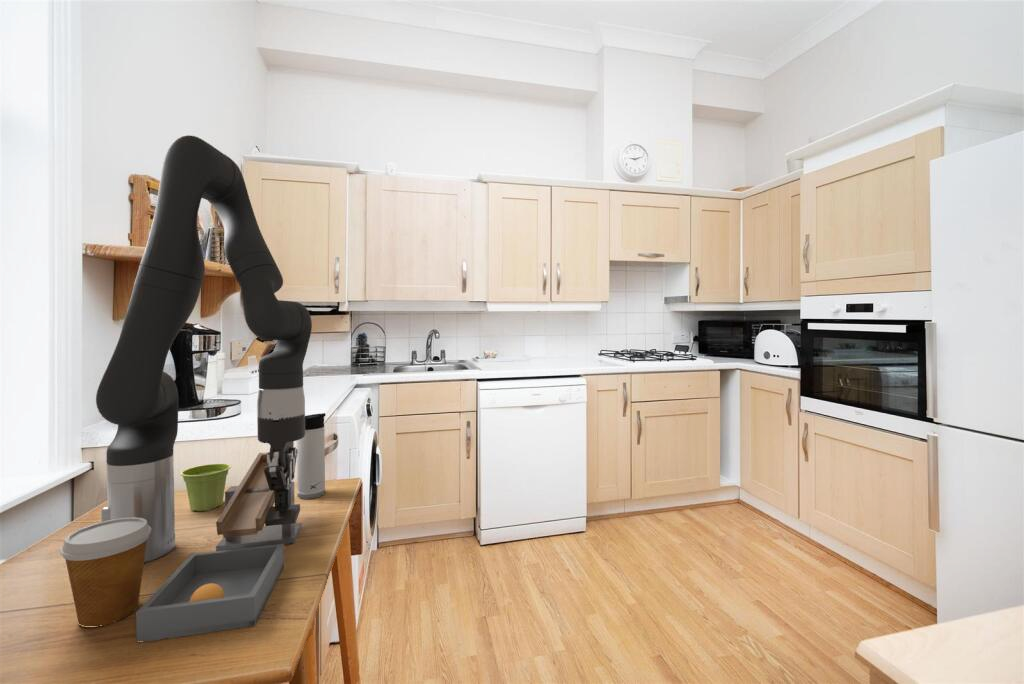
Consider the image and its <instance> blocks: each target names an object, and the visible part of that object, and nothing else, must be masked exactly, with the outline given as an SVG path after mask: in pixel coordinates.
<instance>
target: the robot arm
mask: <svg viewBox="0 0 1024 684" xmlns="http://www.w3.org/2000/svg"><path fill="white" fill-rule="evenodd" d="M242 173H243V172H242V171H241V169H240V167H239V166H238V164H237V163H236V162H235V161H234V160H233V159H232V158H230V156H228V155H227V154H225V153H223V152H222V151H220V150H219V149H218V148H216V147H215V146H213V145H212V144H210V143H208V142H207V141H206V140H204V139H202V138H200V137H198V136H196V135H183V136H180V137H179V138H177V139H175V141H173V142H172V143H171V144H170V146H169V147H168V148H167V151H166V154H165V156H164V159H163V164H162V168H161V173H160V180H159V184H158V192H157V198H156V203H155V204H156V205H155V209H154V213H153V217H152V221H151V222H152V223H151V226H150V229H149V234H148V238H147V242H146V246H145V248H144V252H143V255H142V257H141V260H140V263H139V266H138V269H137V273H136V277H135V280H134V283H133V287H132V292H131V296H130V300H129V303H128V306H127V310H126V313H125V316H124V320H123V324H122V327H121V330H120V335H119V339H118V341H117V344H116V346H115V348H114V350H113V353H112V356H111V358H110V360H109V362H108V365H107V367H106V369H105V371H104V373H103V375H102V378H101V380H100V382H99V385H98V388H97V390H96V395H95V396H96V397H95V404H96V408H97V410H98V412H99V414H100V416H101V417H102V418H103V419H104V420H105V421H107V422H109V423H111V424H114V425H117V431H116V433H115V436H114V438H113V439H112V440H111V443H110V444H109V445H108V447H107V449H106V489H107V490H106V491H107V493H106V494H107V495H106V496H107V503H106V504H107V505H106V506H104V507H103V508H102V509H101V511H100V520H101V521H100V522H104V521H108V520H113V519H120V518H132V517H136V518H143V519H146V521H147V523H148V526H149V527H151V533H150V534H149V537H148V539H147V544H146V551H145V559H144V563H147V562H150V561H153V560H156V559H159V558H160V557H163V556H165V555H167V554H169V553H170V552H171V551H172V550H173V549H174V548H175V545H176V529H175V528H176V526H175V523H176V522H175V519H176V518H175V469H174V468H175V466H174V461H175V460H174V445H175V442H176V441H177V440H176V439H177V436H178V430H179V429H178V428H179V390H178V386H177V384H176V381H175V380H174V379H173V377H172V376H171V375H170V374H168V373H167V372H166V371H164V369H165V364H166V361H167V358H168V355H169V354H168V353H169V352H170V349H171V346H172V345H173V342H174V341H175V339H176V338H177V336H178V334H179V333H180V332H181V331H182V329H183V328H184V326H185V324H186V323H187V321H188V320H189V318H190V317H191V315H192V312H193V311H194V309H195V306H196V304H197V302H198V299H199V296H200V293H201V289H202V286H203V281H204V279H205V278H204V277H205V270H206V269H205V268H206V266H205V258H204V253H203V249H202V245H201V240H200V237H199V232H198V231H199V230H198V215H199V210H200V206H201V202H202V199H203V200H206V201H208V203H209V205H210V206H212V208H213V210H215V212H216V214H217V215H218V217H219V219H220V220H221V222H222V226H223V229H224V230H223V231H224V235H223V249H224V255H225V257H226V261H227V263H228V265H229V268H230V269H231V272H232V274H233V275H234V278H235V280H236V282H237V284H238V285H239V289H240V294H241V302H242V308H243V315H244V319H245V322H246V325H247V327H248V329H249V330H250V331H251V333H253V334H254V335H255V336H256V337H257V338H259V339H260V340H264V341H276V342H275V345H274V346H275V347H274V349H273V351H272V352H271V353H268V354H266V355H264V356H262V357H261V358H260V359H259V361H258V394H257V400H256V401H257V403H256V404H257V405H256V408H257V409H256V411H257V412H256V414H257V415H256V416H257V417H256V418H257V419H256V420H257V440H258V442H260V443H262V444H268V445H269V446H270V447H269V451H268V453H267V452H266V453H267V462H268V464H269V467H265V469H264V473H265V476H266V479H267V482H268V486H269V489H270V491H275V503H274V506H275V511H286V510H288V508H289V507H290V486H291V484H292V482H293V480H294V478H295V472H296V466H297V453H298V451H297V446H296V447H294V445H295V443H294V442H297V440H300V439H302V438H303V437H304V436H305V416H306V398H305V391H304V361H305V358H306V355H307V351H308V347H309V343H310V339H311V334H312V329H313V328H312V327H313V323H312V321H313V320H312V318H311V314H310V312H309V310H308V308H307V307H306V306H305V305H304V304H302V303H300V302H298V301H289V300H281V299H280V300H279V299H278V298H277V297H276V294H275V293H277V292H278V291H279V290H280V289H282V287H283V284H284V278H283V274H282V273H281V271H280V268H279V267H278V265H277V263H276V261H275V258H274V257H273V255H272V252H271V250H270V249H269V247H268V244H267V242H266V241H265V239H264V236H263V234H262V232H261V229H260V226H259V224H258V221H257V219H256V216H255V212H254V209H253V206H252V203H251V199H250V196H249V192H248V188H247V185H246V182H245V179H244V176H243V174H242Z"/></svg>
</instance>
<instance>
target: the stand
mask: <svg viewBox="0 0 1024 684" xmlns="http://www.w3.org/2000/svg"><path fill="white" fill-rule="evenodd" d="M238 486H239V485H233V486H230V487H229V488H227V489H226V490H224V508H225V507H226V506H227V504H228V502H229V501H230V499H231V498H232V496H233V494H234V493H235V491H236V489H237V488H238ZM290 505H295V481H292V484H291V486H290ZM302 527H303V523H302V522H298V523H297V522H296V523H294V524H283V525H273V526H265V525H264V527H263V529H262V531H258V533H257V534H254V535H244V536H235V537H225V538H223V537H222V539H221V540H220V541H219V542H218V543H217V544H216V545H215V551H221V550H231V549H240V548H249V547H259V546H268V545H277V544H284V545H291V544H290V543H293V544H295V542H296V540H297V538H298V536H299V534H300V532H301V530H302Z"/></svg>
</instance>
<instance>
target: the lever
mask: <svg viewBox="0 0 1024 684" xmlns="http://www.w3.org/2000/svg"><path fill="white" fill-rule="evenodd" d="M268 452H269V451H268ZM268 452H259V453H258V454H257V456H256V458H254V461H253V462H252V464H251V466H249V469H248V470H247V472H246V474H245V475H244V477H243V479H242V480H241V482H240V483H239V485H237V486H238V488H237V489H236V491H235V493H234V494H233V496H232V498H231V499H230V501H229V502H228V504H227V506H226V507H225V506H224V509H223V510H222V511H221V512H222V513H221V514H220V515H219V517H218V518H217V520H216V521H215V524H216V531H217V532H216V533H217V536H220V535H222V539H223V538H225V537H235V536H244V535H254V534H257V533H258V531H262V529H263V527H264V526H274V525H283V524H294V523H297V520H298V518H299V515H300V511H301V504H300V503H297V504H295V503H294V505H290V507H289V508H288V510H286V511H275V491H270V489H269V486H268V482H267V479H266V476H265V473H264V469H265V467H269V464H268V462H267V453H268Z"/></svg>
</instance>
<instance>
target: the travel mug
mask: <svg viewBox="0 0 1024 684" xmlns="http://www.w3.org/2000/svg"><path fill="white" fill-rule="evenodd" d="M325 417H326V413H314V414H309V415H308V414H307V415H305V436H304V437H303V438H302V439H300V440H297V441H296V449H297V451H298V453H297V458H296V490H297V491H296V493H297V496H296V497H299V499H300V498H302V499H301V500H310V499H309V498H313V499H317V498H319V496H320V497H322V496H323V495H325V493H326V457H325V456H326V453H325V452H326V450H325V449H326V448H325V447H326V444H325V443H326V441H325V434H326V433H325ZM321 495H322V496H321ZM316 497H317V498H316Z"/></svg>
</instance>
